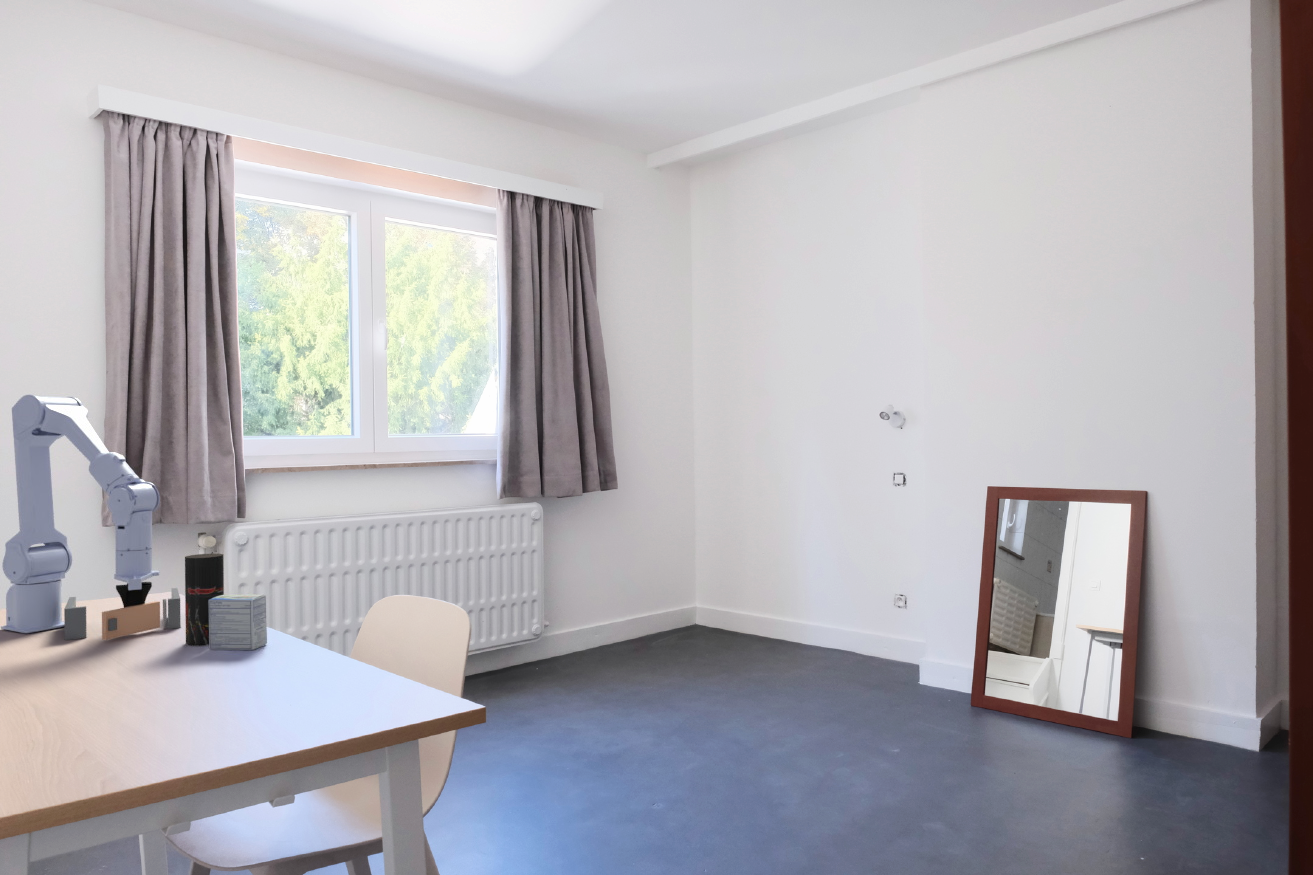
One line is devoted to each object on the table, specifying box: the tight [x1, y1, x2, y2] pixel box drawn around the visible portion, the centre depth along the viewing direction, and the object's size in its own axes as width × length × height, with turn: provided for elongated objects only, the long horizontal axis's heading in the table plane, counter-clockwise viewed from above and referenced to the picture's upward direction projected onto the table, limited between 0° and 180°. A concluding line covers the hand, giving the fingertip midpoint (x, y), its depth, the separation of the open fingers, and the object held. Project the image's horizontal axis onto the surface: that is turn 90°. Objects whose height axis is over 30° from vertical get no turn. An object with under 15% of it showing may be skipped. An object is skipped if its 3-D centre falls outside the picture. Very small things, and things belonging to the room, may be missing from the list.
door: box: [101, 600, 161, 641], centre depth 155 cm, size 2×10×5 cm, turn 159°
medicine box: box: [208, 593, 268, 651], centre depth 146 cm, size 8×4×9 cm, turn 84°
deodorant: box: [184, 553, 225, 647], centre depth 150 cm, size 6×6×15 cm
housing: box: [63, 587, 181, 641], centre depth 163 cm, size 14×18×6 cm
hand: (134, 623), depth 158 cm, fingers closed, pressing on door
